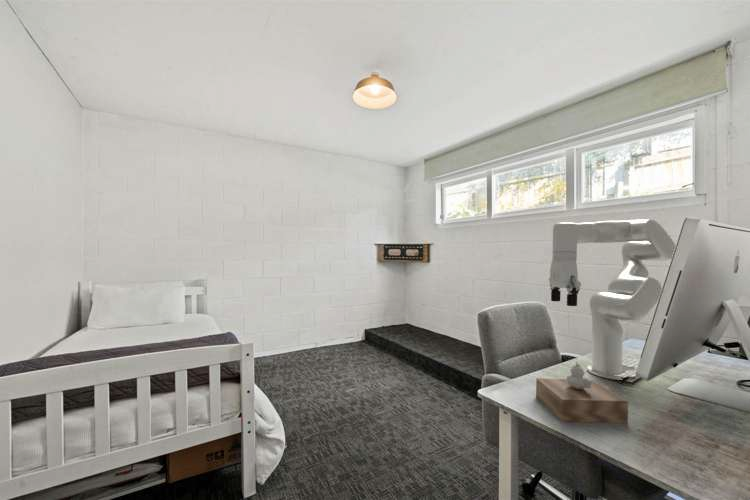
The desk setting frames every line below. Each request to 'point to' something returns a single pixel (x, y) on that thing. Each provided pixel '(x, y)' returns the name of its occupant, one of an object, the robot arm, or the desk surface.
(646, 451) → the desk surface
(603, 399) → the walnut block
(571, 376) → the grey lumpy piece
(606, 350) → the robot arm
